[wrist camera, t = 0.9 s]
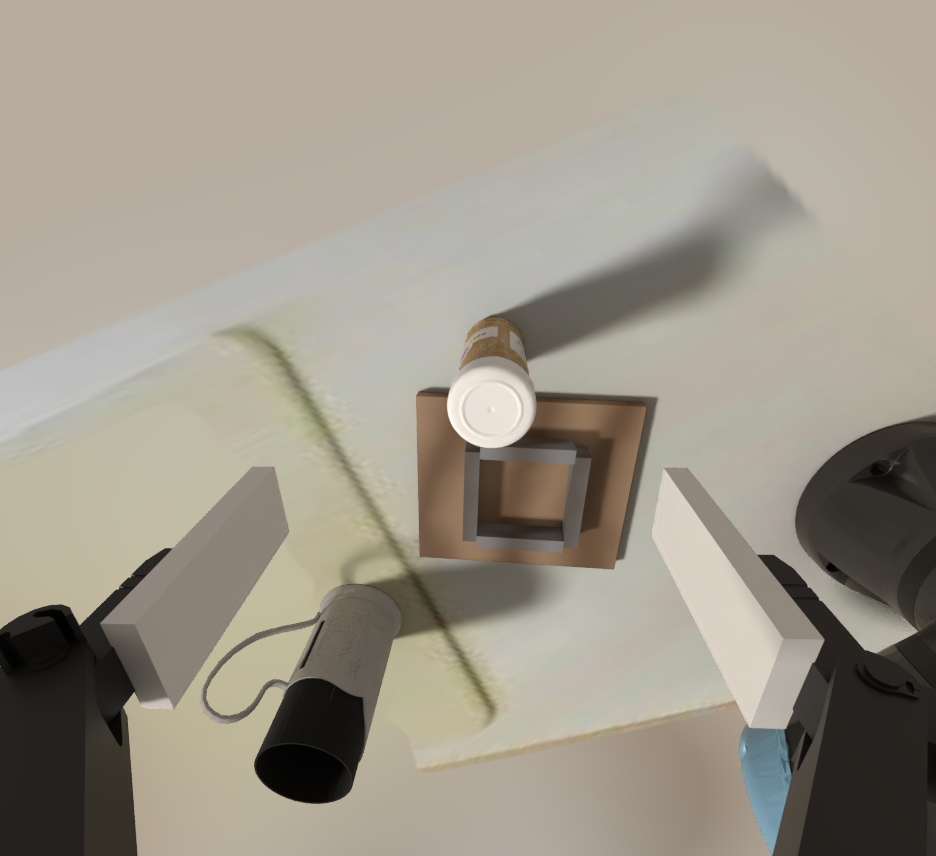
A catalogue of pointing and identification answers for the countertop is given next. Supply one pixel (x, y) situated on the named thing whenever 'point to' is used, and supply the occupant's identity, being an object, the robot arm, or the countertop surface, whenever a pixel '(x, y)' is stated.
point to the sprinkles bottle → (492, 387)
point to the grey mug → (324, 696)
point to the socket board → (529, 485)
